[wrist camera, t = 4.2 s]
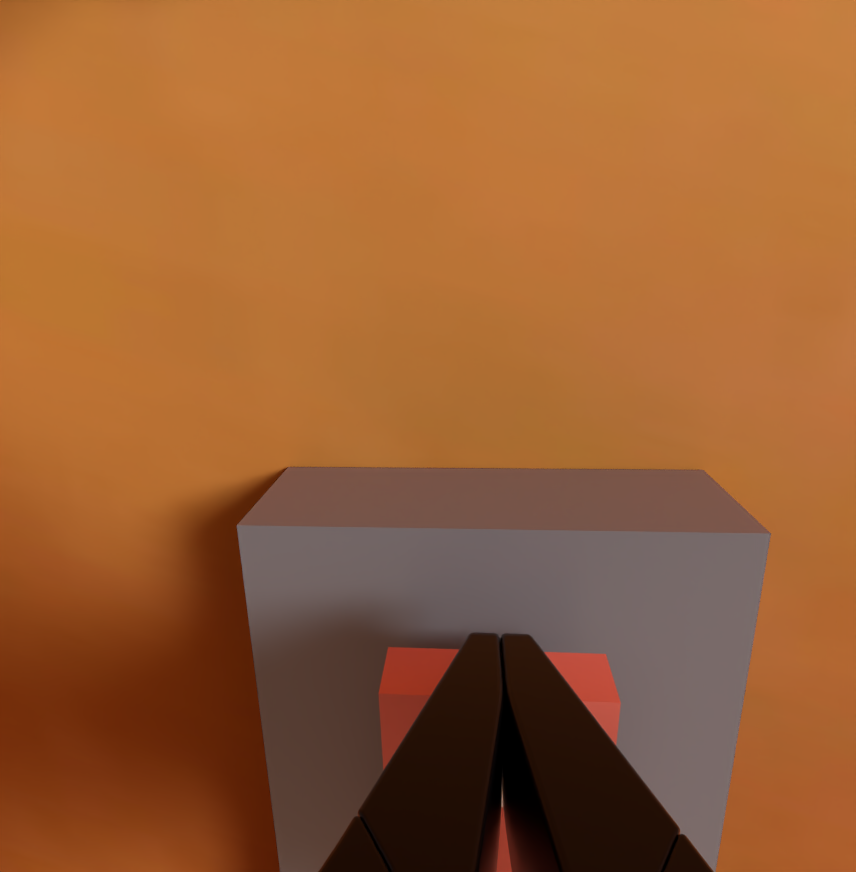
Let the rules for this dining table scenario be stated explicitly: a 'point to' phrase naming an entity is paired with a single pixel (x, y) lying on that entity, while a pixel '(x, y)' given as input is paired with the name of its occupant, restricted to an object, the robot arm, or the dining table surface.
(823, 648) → the dining table surface
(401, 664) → the switch
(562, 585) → the switch panel
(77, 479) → the dining table surface
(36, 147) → the dining table surface
